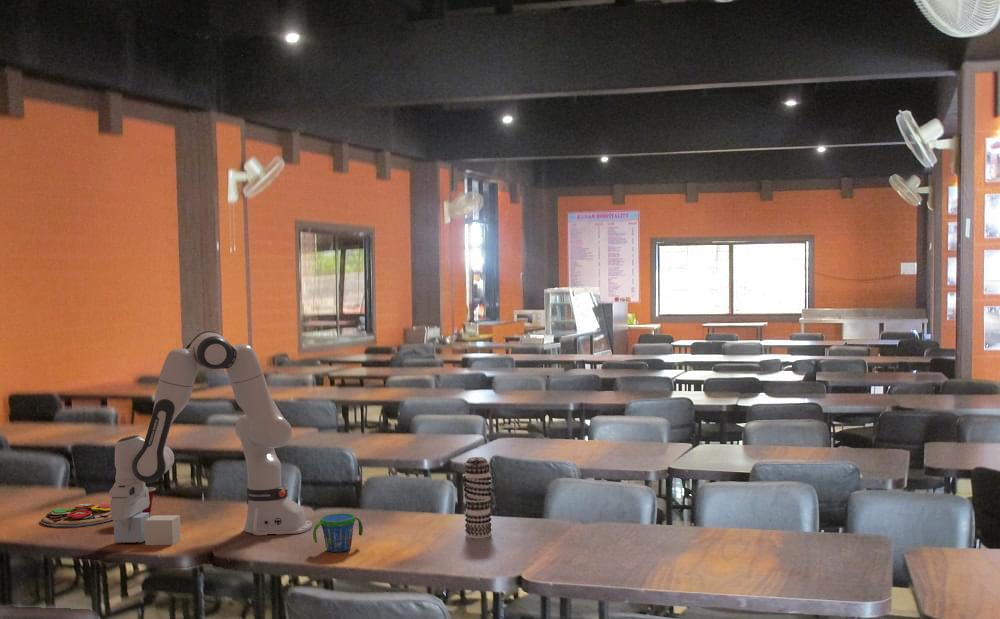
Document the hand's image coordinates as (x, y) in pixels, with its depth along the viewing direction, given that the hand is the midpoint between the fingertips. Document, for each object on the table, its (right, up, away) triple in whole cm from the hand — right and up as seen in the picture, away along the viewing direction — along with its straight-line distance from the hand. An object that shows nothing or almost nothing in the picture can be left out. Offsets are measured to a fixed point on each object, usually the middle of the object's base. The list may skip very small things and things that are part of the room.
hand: (132, 528), depth 317 cm
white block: (0, -4, 0) cm, 4 cm away
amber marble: (-2, -5, 0) cm, 5 cm away
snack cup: (+69, -4, -14) cm, 71 cm away
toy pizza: (-31, -5, +35) cm, 47 cm away
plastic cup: (-7, -4, +27) cm, 29 cm away
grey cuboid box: (+10, -4, -1) cm, 11 cm away
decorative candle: (+112, -2, 0) cm, 112 cm away
